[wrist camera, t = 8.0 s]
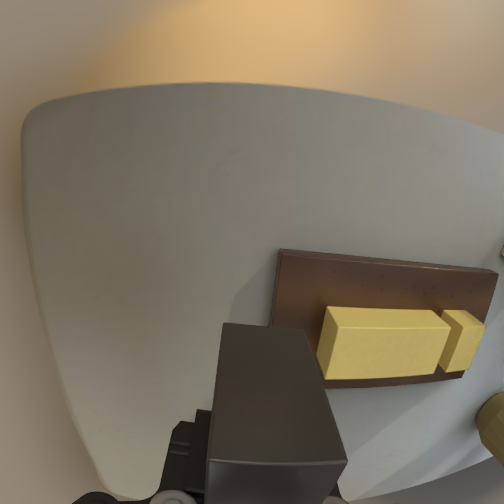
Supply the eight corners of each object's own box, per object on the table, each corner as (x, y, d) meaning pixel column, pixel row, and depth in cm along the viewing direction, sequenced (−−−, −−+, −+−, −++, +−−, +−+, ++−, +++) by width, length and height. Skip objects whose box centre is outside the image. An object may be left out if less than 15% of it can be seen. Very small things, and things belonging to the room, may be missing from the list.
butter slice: (443, 309, 24) (463, 326, 21) (465, 309, 24) (486, 325, 21) (428, 352, 25) (445, 372, 22) (450, 351, 26) (468, 369, 22)
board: (279, 248, 24) (281, 253, 23) (490, 269, 25) (499, 274, 24) (261, 377, 27) (262, 387, 26) (455, 371, 28) (461, 378, 27)
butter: (326, 305, 24) (338, 327, 20) (431, 309, 24) (451, 327, 21) (315, 354, 25) (324, 380, 21) (416, 353, 25) (433, 374, 22)
